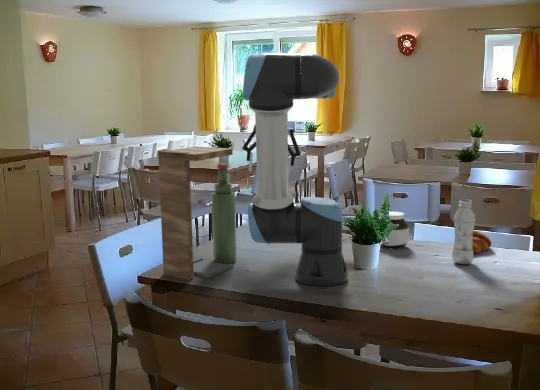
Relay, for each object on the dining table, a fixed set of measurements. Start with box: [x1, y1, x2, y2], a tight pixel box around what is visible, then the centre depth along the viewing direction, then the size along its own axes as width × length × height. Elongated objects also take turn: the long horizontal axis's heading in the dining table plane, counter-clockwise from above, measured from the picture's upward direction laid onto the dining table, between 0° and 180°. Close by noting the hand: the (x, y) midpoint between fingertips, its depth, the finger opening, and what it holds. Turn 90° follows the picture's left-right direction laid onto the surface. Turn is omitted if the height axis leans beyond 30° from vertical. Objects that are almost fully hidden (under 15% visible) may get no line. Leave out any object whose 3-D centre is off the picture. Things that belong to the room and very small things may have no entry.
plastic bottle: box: [451, 199, 476, 265], centre depth 183 cm, size 6×7×20 cm
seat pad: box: [193, 257, 234, 279], centre depth 182 cm, size 12×13×1 cm
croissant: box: [472, 230, 492, 254], centre depth 201 cm, size 21×10×8 cm, turn 148°
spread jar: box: [380, 211, 410, 250], centre depth 204 cm, size 12×11×12 cm
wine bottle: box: [211, 163, 238, 265], centre depth 188 cm, size 7×7×31 cm
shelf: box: [157, 146, 234, 281], centre depth 177 cm, size 17×14×37 cm
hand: (269, 172), depth 209 cm, fingers open, 13 cm apart
